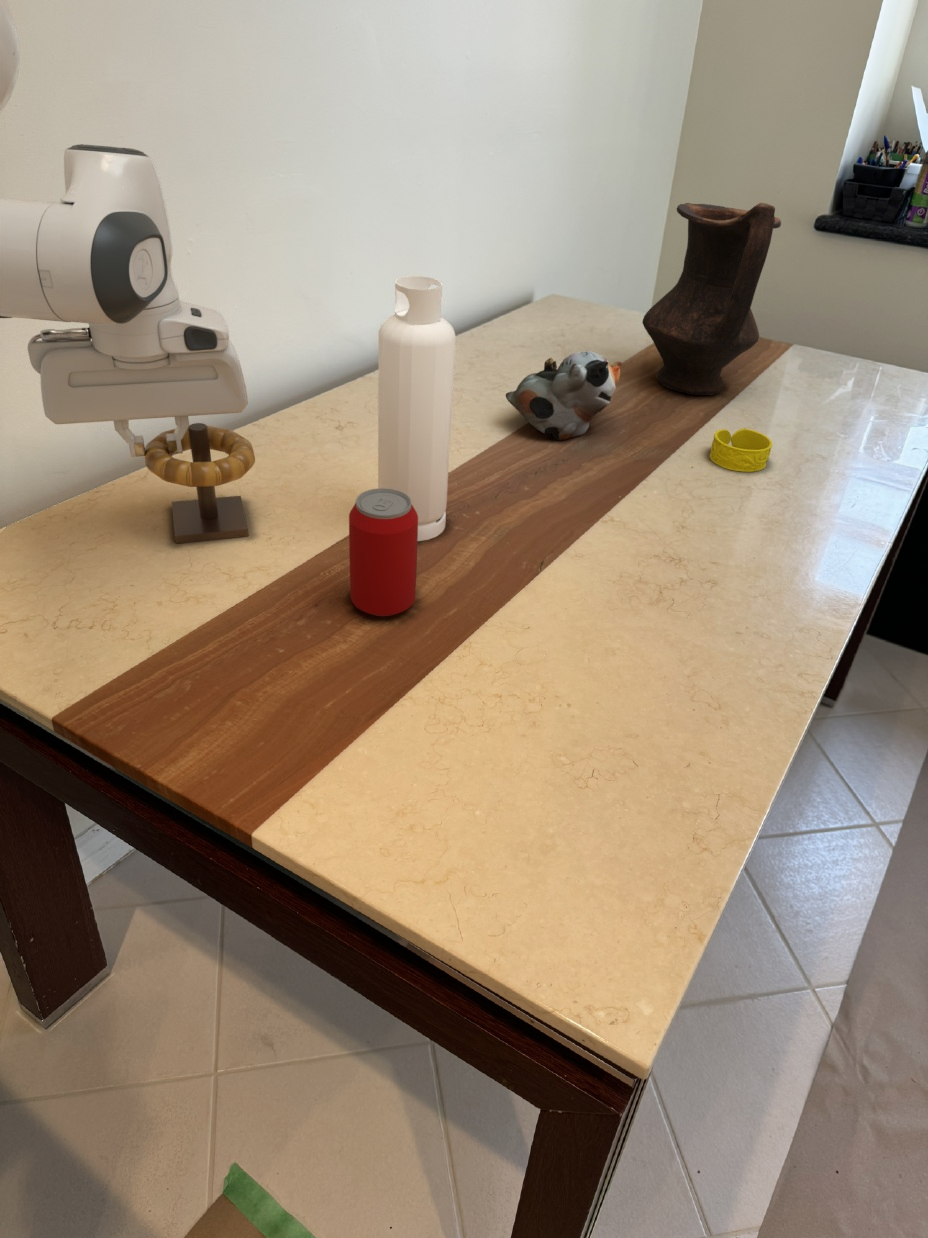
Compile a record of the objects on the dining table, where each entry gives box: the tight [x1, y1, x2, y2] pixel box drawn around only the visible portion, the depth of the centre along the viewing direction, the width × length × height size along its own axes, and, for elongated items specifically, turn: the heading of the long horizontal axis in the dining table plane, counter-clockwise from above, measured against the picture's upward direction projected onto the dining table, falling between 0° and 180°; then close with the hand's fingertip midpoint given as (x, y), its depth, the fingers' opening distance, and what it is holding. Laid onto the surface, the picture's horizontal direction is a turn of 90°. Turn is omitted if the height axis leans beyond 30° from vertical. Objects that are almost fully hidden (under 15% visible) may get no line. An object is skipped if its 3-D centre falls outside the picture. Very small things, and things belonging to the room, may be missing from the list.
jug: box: [642, 202, 782, 396], centre depth 137 cm, size 21×18×30 cm
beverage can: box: [348, 487, 418, 617], centre depth 88 cm, size 7×7×12 cm
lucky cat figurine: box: [505, 350, 623, 441], centre depth 126 cm, size 15×12×14 cm
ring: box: [144, 425, 256, 488], centre depth 97 cm, size 12×12×3 cm
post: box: [171, 422, 250, 544], centre depth 98 cm, size 8×8×12 cm
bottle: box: [377, 275, 457, 542], centre depth 96 cm, size 8×8×28 cm
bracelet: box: [709, 428, 773, 473], centre depth 123 cm, size 7×8×3 cm
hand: (157, 453), depth 95 cm, fingers closed on ring, 2 cm apart
